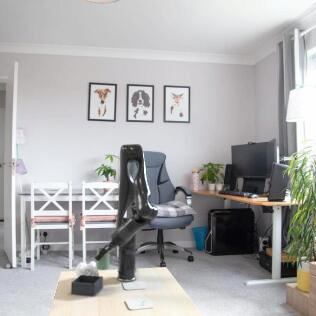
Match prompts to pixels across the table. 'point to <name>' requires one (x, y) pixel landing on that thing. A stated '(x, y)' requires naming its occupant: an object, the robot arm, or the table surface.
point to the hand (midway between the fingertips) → (99, 257)
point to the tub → (87, 285)
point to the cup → (103, 261)
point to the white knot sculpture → (87, 269)
